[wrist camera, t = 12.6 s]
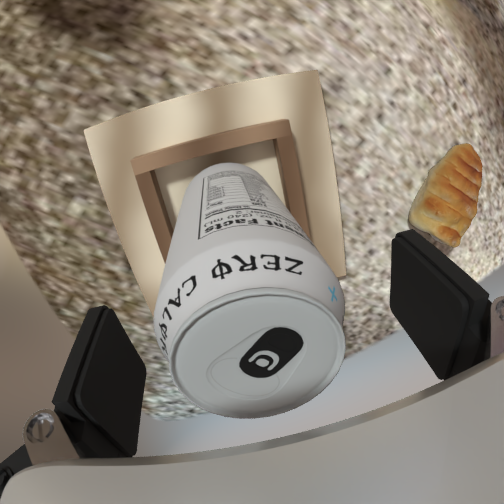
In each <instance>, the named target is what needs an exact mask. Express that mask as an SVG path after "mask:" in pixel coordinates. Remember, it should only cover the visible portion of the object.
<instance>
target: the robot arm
mask: <svg viewBox="0 0 504 504" xmlns="http://www.w3.org/2000/svg"><path fill="white" fill-rule="evenodd" d="M488 297H489V294H488V293H487V292H486V291H485V290H484V289H483V288H482V287H481V286H480V285H479V284H478V283H477V282H476V281H474V280H473V279H472V278H471V277H470V276H469V275H468V274H467V273H465V272H464V271H463V270H462V269H461V268H460V267H459V266H457V265H456V264H455V263H454V262H453V261H452V260H450V259H449V258H448V257H447V256H446V255H444V254H443V253H442V252H441V251H440V250H438V249H437V248H436V247H435V246H434V245H432V244H431V243H430V242H429V241H427V240H426V239H425V238H424V237H422V236H421V235H420V234H419V233H417V232H416V231H415V230H413V229H410V230H407V231H403V232H399V233H397V234H396V236H395V238H394V239H393V240H392V254H391V288H390V308H391V311H392V313H393V314H394V316H395V317H396V318H397V320H398V321H399V323H400V324H401V325H402V327H403V328H404V330H405V331H406V332H407V334H408V335H409V337H410V338H411V339H412V341H413V342H414V344H415V345H416V346H417V348H418V349H419V351H420V352H421V354H422V355H423V357H424V358H425V360H426V361H427V362H428V364H429V365H430V367H431V368H432V370H433V371H434V373H435V374H436V376H437V377H438V378H439V379H441V380H442V379H444V381H442V382H440V383H438V384H436V385H434V386H431V387H429V388H427V389H425V390H423V391H420V392H418V393H416V394H413V395H411V396H409V397H406V398H404V399H401V400H399V401H396V402H394V403H391V404H389V405H386V406H383V407H381V408H378V409H376V410H372V411H370V412H367V413H364V414H361V415H358V416H355V417H352V418H349V419H346V420H343V421H340V422H336V423H333V424H330V425H326V426H323V427H319V428H316V429H312V430H309V431H305V432H301V433H298V434H293V435H289V436H285V437H281V438H276V439H272V440H268V441H263V442H257V443H253V444H247V445H242V446H236V447H230V448H224V449H217V450H211V451H203V452H195V453H186V454H176V455H164V456H152V457H151V456H150V457H132V456H133V455H135V454H136V451H137V443H138V433H139V425H140V416H141V408H142V401H143V393H144V386H145V380H146V367H145V364H144V363H143V361H142V359H141V358H140V356H139V354H138V353H137V351H136V349H135V348H134V346H133V344H132V342H131V341H130V339H129V337H128V336H127V334H126V332H125V330H124V329H123V327H122V325H121V323H120V321H119V319H118V318H117V316H116V314H115V312H114V311H113V310H112V309H109V308H108V307H107V306H105V305H104V306H99V307H95V308H91V309H89V310H88V312H87V315H86V317H85V319H84V321H83V324H82V326H81V328H80V330H79V333H78V335H77V337H76V340H75V342H74V345H73V347H72V349H71V352H70V354H69V357H68V359H67V362H66V365H65V367H64V370H63V372H62V375H61V378H60V380H59V383H58V386H57V388H56V391H55V394H54V397H53V400H52V403H53V404H54V405H55V409H54V411H52V410H50V409H42V410H39V411H37V412H35V413H34V414H33V415H31V416H30V417H29V419H28V420H27V422H26V423H25V426H24V428H23V439H24V443H25V444H24V445H23V446H21V447H20V448H19V449H18V450H16V451H15V452H14V453H13V454H12V455H10V456H9V457H8V458H7V459H5V460H4V461H3V462H2V463H0V504H504V296H501V297H498V298H496V299H495V300H494V301H493V303H491V302H490V300H488Z"/></svg>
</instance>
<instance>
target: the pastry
mask: <svg viewBox="0 0 504 504" xmlns="http://www.w3.org/2000/svg"><path fill="white" fill-rule="evenodd" d="M481 179H482V163H481V160H480V157H479V156H478V154H477V153H476V152H475V150H474V149H473V147H472V146H471V145H470V144H467V143H466V144H460V145H455V146H453V147H452V148H451V149H450V150H448V152H447V153H446V155H445V156H444V157H443V158H442V159H441V160H440V161H439V162H438V163H437V164H436V165H435V166H433V167H432V168H431V169H430V170H429V172H428V177H427V178H426V179H425V181H424V183H423V185H422V187H421V188H420V190H419V191H418V193H417V195H416V197H415V199H414V201H413V203H412V205H411V209H410V211H409V222H410V223H411V224H412V225H413V226H415V227H416V228H417V229H419V230H421V231H423V232H427V233H429V234H430V235H431V236H432V238H433V239H434V240H436V241H438V242H440V243H442V244H446V245H448V246H451V247H457V246H459V245H460V240H461V237H462V236H463V235H464V233H465V232H466V230H467V229H468V228H469V226H470V224H471V221H472V219H473V218H474V217H475V215H476V213H477V202H478V193H479V190H480V188H481Z"/></svg>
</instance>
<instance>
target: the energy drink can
mask: <svg viewBox="0 0 504 504" xmlns="http://www.w3.org/2000/svg"><path fill="white" fill-rule="evenodd" d="M344 314H345V303H344V294H343V291H342V288H341V285H340V282H339V280H338V278H337V277H336V275H335V274H334V272H333V271H332V269H331V268H330V266H329V265H328V264H327V262H326V261H325V259H324V258H323V257H322V255H321V254H320V252H319V251H318V250H317V248H316V247H315V246H314V244H313V243H312V241H311V240H310V239H309V237H308V236H307V235H306V233H305V232H304V231H303V229H302V228H301V226H300V225H299V224H298V222H297V221H296V220H295V218H294V217H293V216H292V214H291V213H290V212H289V210H288V209H287V208H286V206H285V205H284V204H283V202H282V201H281V200H280V198H279V197H278V196H277V195H276V193H275V192H274V191H273V189H272V188H271V187H270V185H269V184H268V183H267V182H266V180H265V179H264V178H263V177H262V176H261V175H260V174H259V173H258V172H257V171H255V170H253V169H252V168H250V167H248V166H245V165H242V164H238V163H220V164H216V165H213V166H210V167H208V168H206V169H204V170H203V171H201V172H200V173H199V174H197V175H196V176H195V177H194V179H193V180H192V181H191V182H190V183H189V185H188V187H187V189H186V191H185V194H184V197H183V200H182V204H181V207H180V211H179V214H178V218H177V222H176V225H175V229H174V233H173V236H172V240H171V244H170V248H169V252H168V256H167V259H166V263H165V268H164V272H163V276H162V280H161V284H160V288H159V293H158V297H157V301H156V306H155V310H154V331H155V335H156V338H157V342H158V345H159V347H160V348H161V350H162V352H163V354H164V356H165V357H166V359H167V360H168V362H169V370H170V373H171V377H172V380H173V382H174V383H175V385H176V387H177V388H178V390H179V391H180V392H181V393H182V394H183V395H184V396H185V397H186V398H187V399H188V400H189V401H190V402H192V403H193V404H195V405H196V406H198V407H199V408H201V409H204V410H206V411H208V412H210V413H213V414H217V415H221V416H225V417H232V418H261V417H269V416H273V415H277V414H281V413H284V412H287V411H290V410H292V409H295V408H297V407H299V406H301V405H303V404H305V403H306V402H308V401H310V400H311V399H313V398H314V397H315V396H317V395H318V394H319V393H321V392H322V391H323V390H324V389H325V388H326V387H327V386H328V385H329V384H330V383H331V382H332V380H333V379H334V377H335V376H336V375H337V373H338V372H339V369H340V367H341V365H342V363H343V360H344V355H345V350H346V343H345V335H344V332H343V329H342V327H343V321H344Z"/></svg>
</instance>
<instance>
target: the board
mask: <svg viewBox="0 0 504 504" xmlns="http://www.w3.org/2000/svg"><path fill="white" fill-rule="evenodd" d="M84 134H85V137H86V141H87V144H88V147H89V151H90V154H91V157H92V161H93V164H94V167H95V170H96V173H97V177H98V180H99V183H100V186H101V189H102V192H103V194H104V197H105V200H106V203H107V206H108V209H109V212H110V214H111V217H112V220H113V222H114V225H115V228H116V230H117V233H118V236H119V238H120V241H121V243H122V246H123V248H124V251H125V253H126V256H127V258H128V261H129V263H130V265H131V268H132V270H133V273H134V275H135V277H136V280H137V282H138V284H139V286H140V289H141V291H142V293H143V295H144V298H145V300H146V302H147V304H148V306H149V309H150V311H151V313H152V315H153V317H154V310H155V306H156V301H157V297H158V293H159V288H160V284H161V280H162V276H163V272H164V268H165V263H166V259H167V256H168V252H169V248H170V244H171V240H172V236H173V233H174V229H175V225H176V222H177V218H178V214H179V211H180V207H181V204H182V200H183V197H184V194H185V191H186V189H187V187H188V185H189V183H190V182H191V181H192V180H193V179H194V177H195V176H196V175H197V174H199V173H200V172H201V171H203V170H204V169H206V168H208V167H210V166H213V165H216V164H220V163H238V164H242V165H245V166H248V167H250V168H252V169H253V170H255V171H257V172H258V173H259V174H260V175H261V176H262V177H263V178H264V179H265V180H266V182H267V183H268V184H269V185H270V187H271V188H272V189H273V191H274V192H275V193H276V195H277V196H278V197H279V198H280V200H281V201H282V202H283V204H284V205H285V206H286V208H287V209H288V210H289V212H290V213H291V214H292V216H293V217H294V218H295V220H296V221H297V222H298V224H299V225H300V226H301V228H302V229H303V231H304V232H305V233H306V235H307V236H308V237H309V239H310V240H311V241H312V243H313V244H314V246H315V247H316V248H317V250H318V251H319V252H320V254H321V255H322V257H323V258H324V259H325V261H326V262H327V264H328V265H329V266H330V268H331V269H332V271H333V272H334V274H335V275H336V277H337V278H338V277H341V276H345V275H346V266H345V253H344V242H343V232H342V222H341V213H340V204H339V196H338V188H337V180H336V173H335V165H334V159H333V152H332V146H331V139H330V133H329V127H328V121H327V116H326V110H325V105H324V100H323V94H322V89H321V84H320V80H319V75H318V70H312V71H304V72H296V73H289V74H282V75H276V76H270V77H264V78H259V79H253V80H248V81H243V82H238V83H233V84H229V85H224V86H220V87H216V88H211V89H207V90H203V91H199V92H195V93H192V94H188V95H184V96H181V97H177V98H174V99H170V100H167V101H163V102H160V103H157V104H154V105H151V106H147V107H144V108H141V109H138V110H135V111H132V112H130V113H127V114H124V115H121V116H118V117H116V118H113V119H110V120H108V121H105V122H102V123H100V124H97V125H95V126H92V127H90V128H87V129H85V130H84Z"/></svg>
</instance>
